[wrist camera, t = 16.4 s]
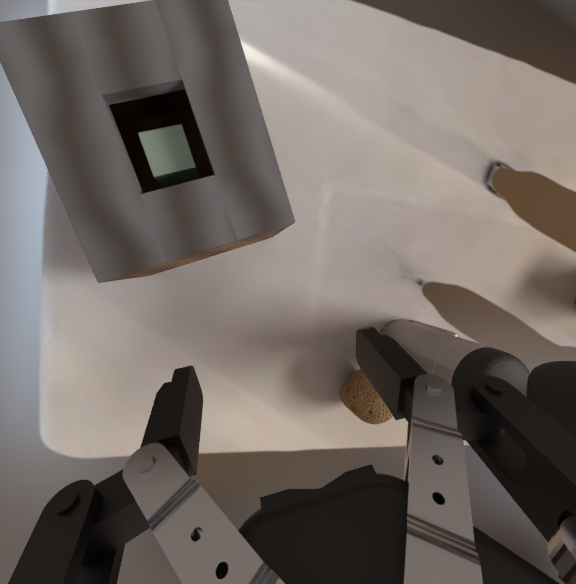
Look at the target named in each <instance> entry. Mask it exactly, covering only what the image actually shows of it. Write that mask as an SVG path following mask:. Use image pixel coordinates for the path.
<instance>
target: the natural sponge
mask: <svg viewBox="0 0 576 584" xmlns="http://www.w3.org/2000/svg"><path fill="white" fill-rule="evenodd" d="M339 395H340V399H341V401H342V402H343V403H344V405H345V406H346V407H347V408H348V409H349V410H350V411H352V412H353V413H354V414H355V415H356V416H357V417H358V418H360V419H361V420H362V421H364V422H367V423H370V424H380V423H383V422H386V421H388V420H389V419H390V418H392V417H393V415H392V413H391V412H390V410H389V409H388V407H387V406H386V405H385V403H384V402H383V400H382V399H381V397H380V396H379V394H378V393H377V391H376V390H375V388H374V387H373V385H372V384H371V382H370V381H369V379H368V378H367V376H366V375H365V373H364V372H363V370H362V369H360V370H357V371H356V372H355V373H354V374H353V375H352V376H351V377H350V378H349V380H348V381H347V382H346V383H345V384H344V385H343V386H342V388H341V390H340V393H339Z"/></svg>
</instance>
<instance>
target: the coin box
mask: <svg viewBox="0 0 576 584" xmlns="http://www.w3.org/2000/svg"><path fill="white" fill-rule="evenodd" d="M0 62H1V64H2V66H3V69H4V71H5V73H6V75H7V78H8V80H9V82H10V84H11V87H12V89H13V91H14V94H15V96H16V98H17V100H18V103H19V105H20V107H21V109H22V112H23V114H24V116H25V118H26V121H27V123H28V125H29V127H30V130H31V132H32V134H33V136H34V139H35V141H36V143H37V146H38V148H39V150H40V152H41V154H42V157H43V159H44V161H45V163H46V166H47V168H48V170H49V173H50V175H51V177H52V179H53V182H54V184H55V186H56V188H57V191H58V193H59V195H60V198H61V200H62V202H63V204H64V207H65V209H66V211H67V213H68V216H69V218H70V220H71V222H72V225H73V227H74V229H75V231H76V234H77V236H78V238H79V240H80V243H81V245H82V247H83V249H84V252H85V254H86V256H87V258H88V261H89V263H90V265H91V268H92V270H93V272H94V274H95V277H96V279H97V281H98V283H100V282H108V281H115V280H122V279H129V278H136V277H144V276H150V275H153V274H156V273H159V272H162V271H166V270H169V269H172V268H175V267H178V266H182V265H185V264H188V263H191V262H194V261H198V260H201V259H204V258H207V257H210V256H214V255H217V254H220V253H223V252H226V251H229V250H233V249H236V248H239V247H242V246H245V245H249V244H252V243H255V242H258V241H261V240H265V239H268V238H271V237H273V236H275V235H276V234H278V233H279V232H281V231H282V230H284V229H285V228H287V227H289V226H290V225H292V224H293V223H295V219H294V216H293V213H292V210H291V206H290V203H289V200H288V196H287V193H286V190H285V187H284V183H283V180H282V177H281V173H280V170H279V167H278V164H277V160H276V157H275V154H274V150H273V147H272V144H271V140H270V137H269V134H268V131H267V127H266V124H265V121H264V117H263V114H262V111H261V108H260V104H259V101H258V98H257V94H256V91H255V88H254V85H253V81H252V78H251V75H250V71H249V68H248V65H247V62H246V58H245V55H244V52H243V48H242V45H241V42H240V38H239V35H238V32H237V29H236V25H235V22H234V19H233V15H232V12H231V9H230V6H229V2H228V0H151V1H144V2H137V3H130V4H124V5H117V6H110V7H103V8H96V9H89V10H82V11H75V12H68V13H61V14H54V15H47V16H41V17H33V18H26V19H19V20H13V21H6V22H0ZM180 124H182V127H183V130H184V133H185V136H186V139H187V141H188V144H189V147H190V150H191V153H192V156H193V159H194V162H195V164H196V167H197V170H198V173H199V176H200V179H197V180H193V181H189V182H186V183H182V184H178V185H174V186H170V187H167V188H163V187H162V186H161V185H160V183H159V182H158V181H157V180H156V179H155V178H154V176H153V173H152V170H151V168H150V165H149V162H148V159H147V157H146V154H145V151H144V148H143V145H142V143H141V140H140V137H139V134H138V133H140V132H145V131H150V130H155V129H160V128H165V127H170V126H175V125H180Z"/></svg>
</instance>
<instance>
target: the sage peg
mask: <svg viewBox="0 0 576 584" xmlns="http://www.w3.org/2000/svg"><path fill="white" fill-rule="evenodd" d="M138 134H139V137H140V140H141V143H142V145H143V148H144V151H145V154H146V157H147V159H148V162H149V165H150V168H151V170H152V173H153V176H154V178H155V179H156V180H157V181H158V182H159V183H160V185H161V186H162V187H163V188H167V187H170V186H174V185H178V184H182V183H186V182H189V181H193V180H197V179H200V176H199V173H198V170H197V167H196V164H195V162H194V159H193V156H192V153H191V150H190V147H189V144H188V141H187V139H186V136H185V133H184V130H183V127H182V124H180V125H175V126H170V127H165V128H160V129H155V130H150V131H145V132H140V133H138Z"/></svg>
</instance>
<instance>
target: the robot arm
mask: <svg viewBox="0 0 576 584" xmlns="http://www.w3.org/2000/svg"><path fill="white" fill-rule="evenodd" d="M356 357H357V361H358V364H359V366H360V367H361V369H362V370H363V372H364V373H365V375H366V376H367V378H368V379H369V381H370V382H371V384H372V385H373V387H374V388H375V390H376V391H377V393H378V394H379V396H380V397H381V399H382V400H383V402H384V403H385V405H386V406H387V407H388V409H389V410H390V412H391V413H392V415H393V416H394V418H395V419H396V420H399V419H402V418H405V419H406V420H407V421H408V430H407V443H406V456H405V468H404V477H403V480H402V479H399V478H397V477H394V476H390V475H386V474H376V472H375V470H374V468H373V466H372V465H368V466H364V467H361V468H358V469H354V470H351V471H348V472H345V473H344V474H342V475H341V476H339V477H338V478H336V479H335V480H333V481H331V482H330V483H328V484H327V485H325V486H324V487H322V488H320V489H287V490H284V491H281V492H277V493H274V494H271V495H267V496H264V497H261V498H260V501H261V508H260V509H259V510H257V511H256V512H255V513H254V514H252V515H251V516H250V517H249V518H248V519H247V520H246V521H245V522H244V523H243V525H242V526H241V527H240V528H239V530H237V529H236V528H235V527H234V525H233V524H232V523H231V522H230V521H229V519H228V518H227V517H226V516H225V515H224V513H223V512H222V511H221V510H220V508H219V507H218V506H217V505H216V504H215V502H214V501H213V500H212V499H211V498H210V496H209V495H208V494H207V493H206V492H205V491H204V489H203V488H202V487H201V486H200V484H199V483H198V482H197V481H195V480H194V481H193V480H191V478H190V477H189V476H193V475H196V473H197V463H198V452H199V441H200V430H201V419H202V408H203V395H202V390H201V387H200V384H199V381H198V378H197V375H196V372H195V369H194V367H193V366H187V367H183V368H178V369H175V370H174V374H173V378H172V382H168V383H164V384H163V386H162V387H161V388H160V390H159V391H158V392H157V394H156V397H155V400H154V405H153V407H152V411H151V414H150V417H149V421H148V424H147V427H146V431H145V434H144V438H143V441H142V444H141V447H140V449H138V450H137V451H136V452H134V453H133V454H132V455H131V456H130V458H129V459H128V460H127V462H126V464H125V466H124V469H122V470H121V471H119V472H118V473H116V474H114V475H113V476H111V477H109V478H107V479H105V480H103V481H102V482H100V483H98V484H96V485H93V483H92V482H91V481H88V480H79V481H76V482H74V483H71V484H70V485H67V486H66V487H64V488H63V489H62V490H60V491H59V492H58V493H57V494H56V495H55V496H54V497H53V498H52V499H51V500H50V501H49V502H48V504H47V505H46V506H45V508H44V509H43V511H42V513H41V515H40V518H39V520H38V522H37V524H36V526H35V528H34V530H33V532H32V534H31V536H30V539H29V541H28V543H27V545H26V547H25V549H24V551H23V553H22V555H21V557H20V559H19V562H18V564H17V566H16V568H15V570H14V572H13V574H12V577H11V578H10V581H9V583H8V584H117V579H118V575H119V570H120V566H121V561H122V556H123V551H124V546H125V544H126V543H127V542H129V541H130V540H132V539H133V538H135V537H136V536H138V535H139V534H141V533H142V532H144V531H145V530H147V529H149V528H151V530H152V532H153V533H154V535H155V537H156V538H157V540H158V542H159V544H160V545H161V547H162V549H163V551H164V553H165V554H166V556H167V558H168V560H169V561H170V563H171V565H172V567H173V568H174V570H175V572H176V574H177V575H178V577H179V579H180V580H181V582H182V584H559V583H558V582H557V581H555V580H554V579H553V578H551V577H550V576H548V575H546V574H545V573H543V572H542V571H540V570H539V569H537V568H536V567H534V566H533V565H531V564H530V563H528V562H527V561H525V560H524V559H522V558H521V557H519V556H518V555H516V554H515V553H513V552H512V551H510V550H509V549H507V548H506V547H504V546H503V545H501V544H500V543H498V542H497V541H495V540H494V539H492V538H490V537H489V536H488V535H486V534H485V533H483V532H482V531H480V530H479V529H477V528H476V527H474V526H473V524H472V516H471V506H470V497H469V488H468V479H467V470H466V462H465V452H464V443H463V440H466V441H467V442H468V443H469V445H470V446H471V447H472V448H473V450H474V451H475V452H476V453H477V454H478V456H479V457H480V458H481V459H482V461H483V462H484V463H485V464H486V466H487V467H488V468H489V469H490V471H491V472H492V473H493V474H494V475H495V477H496V478H497V479H498V480H499V482H500V483H501V484H502V485H503V487H504V488H505V489H506V491H507V492H508V493H509V494H510V495H511V497H512V498H513V499H514V500H515V502H516V503H517V504H518V505H519V507H520V508H521V509H522V510H523V512H524V513H525V514H526V515H527V516H528V518H529V519H530V520H531V522H532V523H533V524H534V525H535V526H536V528H537V529H538V530H539V532H540V533H541V534H542V535H543V536H544V538H545V539H546V540H547V541H548V554H549V557H550V559H551V562H552V564H553V566H554V567H555V569H556V570H557V574H558V577H559V579H560V580H561V582H562V583H563V584H576V361H554V362H548V363H545V364H541V365H539V366H537V367H535V368H534V369H533V370H532V371H531V373H530V372H529V370H528V369H527V367H526V366H525V365H524V364H523V363H522V361H520V360H519V359H518V358H517V357H515V356H513V355H511V354H509V353H506V352H503V351H501V350H497V349H494V348H491V347H488V346H485V345H482V344H479V343H475V342H472V341H469V340H466V339H463V338H459V337H457V335H456V334H455V333H454V332H451V331H448V330H445V329H441V328H438V327H435V326H431V325H428V324H425V323H422V322H418V321H412V322H409V321H406V320H395V321H393V322H391V323H389V324H388V325H386V326H385V327H384V328H383V330H382V331H381V333H380V334H379V333H378V332H377V331H376V329H375V328H374V327H368V328H363V329H359V330H357V333H356Z"/></svg>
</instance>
